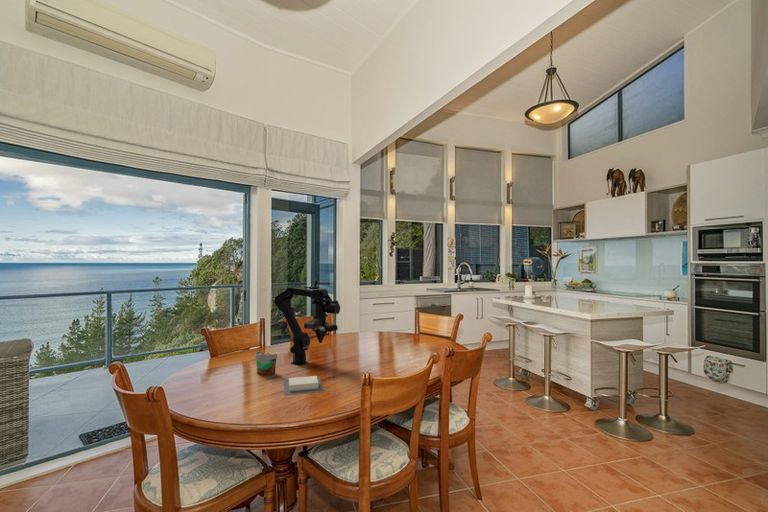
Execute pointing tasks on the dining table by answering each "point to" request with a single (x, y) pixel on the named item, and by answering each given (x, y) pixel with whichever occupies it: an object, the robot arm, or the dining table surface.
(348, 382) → the dining table surface
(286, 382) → the mat
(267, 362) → the food container
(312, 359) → the dining table surface
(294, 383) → the tile
